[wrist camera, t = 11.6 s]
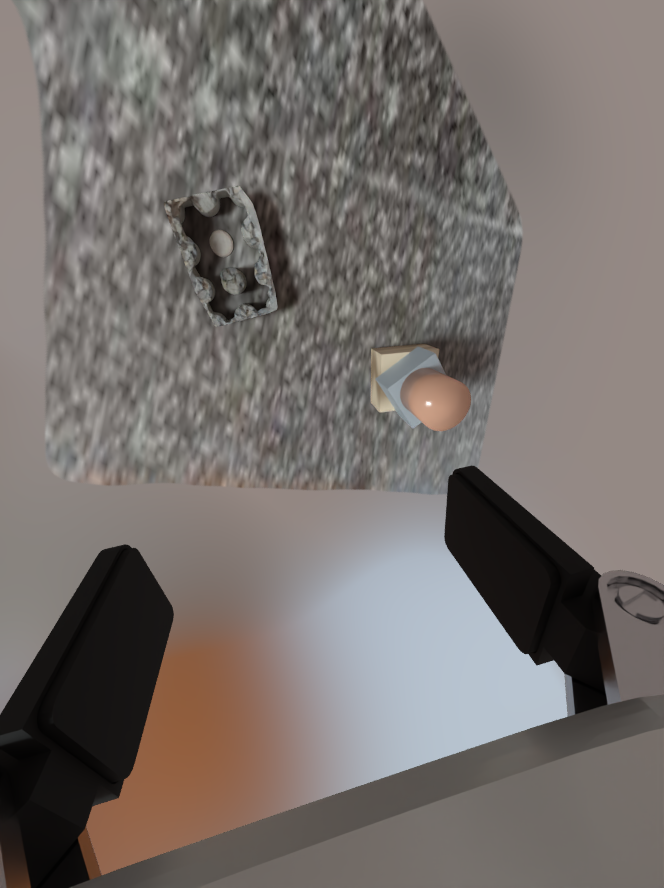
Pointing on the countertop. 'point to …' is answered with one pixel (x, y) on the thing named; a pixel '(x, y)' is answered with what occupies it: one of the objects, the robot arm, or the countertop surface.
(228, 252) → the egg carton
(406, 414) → the tower top block
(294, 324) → the countertop surface
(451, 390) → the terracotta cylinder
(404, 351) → the tower base block
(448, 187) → the countertop surface
